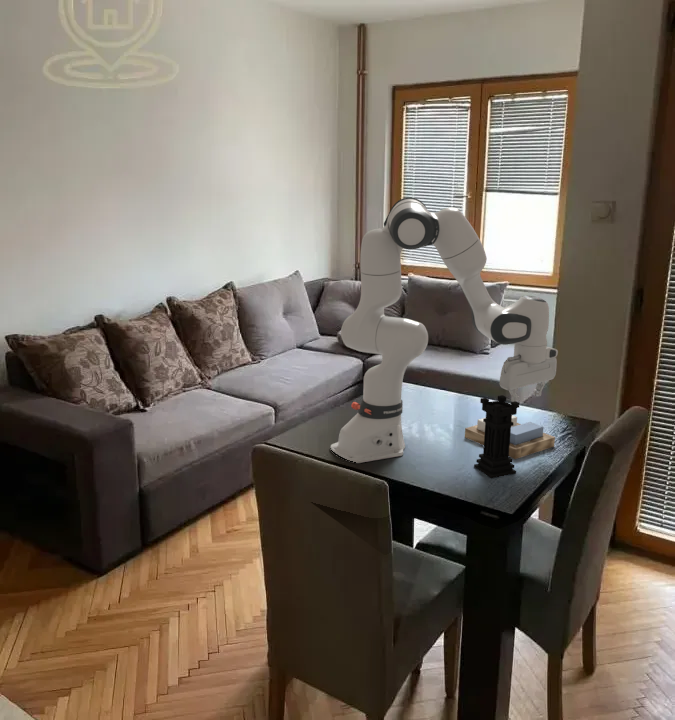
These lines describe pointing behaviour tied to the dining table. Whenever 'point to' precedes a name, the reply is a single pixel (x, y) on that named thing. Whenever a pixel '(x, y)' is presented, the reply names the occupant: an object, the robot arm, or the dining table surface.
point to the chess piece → (497, 438)
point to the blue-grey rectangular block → (525, 432)
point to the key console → (515, 450)
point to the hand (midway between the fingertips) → (526, 398)
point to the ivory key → (482, 424)
